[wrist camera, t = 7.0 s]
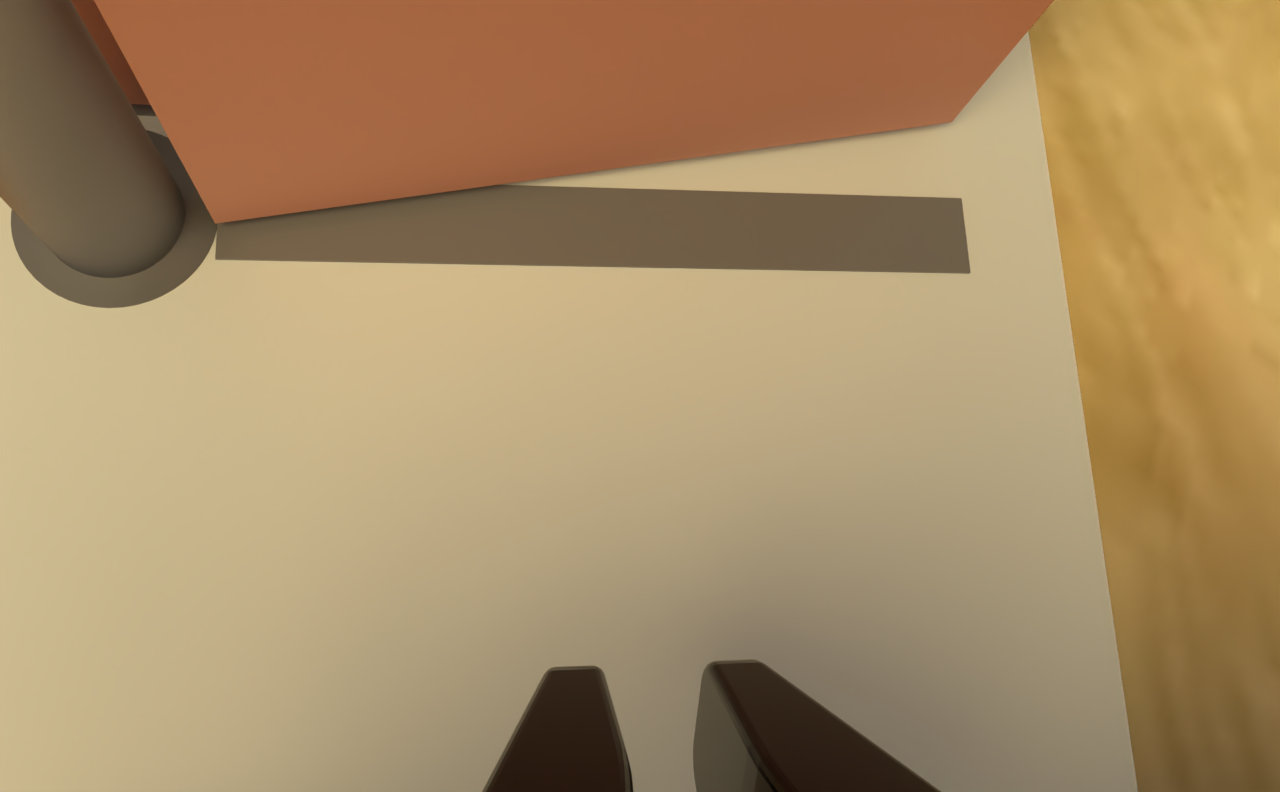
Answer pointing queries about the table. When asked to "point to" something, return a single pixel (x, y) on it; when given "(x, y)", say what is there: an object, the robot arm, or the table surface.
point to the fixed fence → (80, 142)
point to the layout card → (562, 473)
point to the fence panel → (531, 85)
